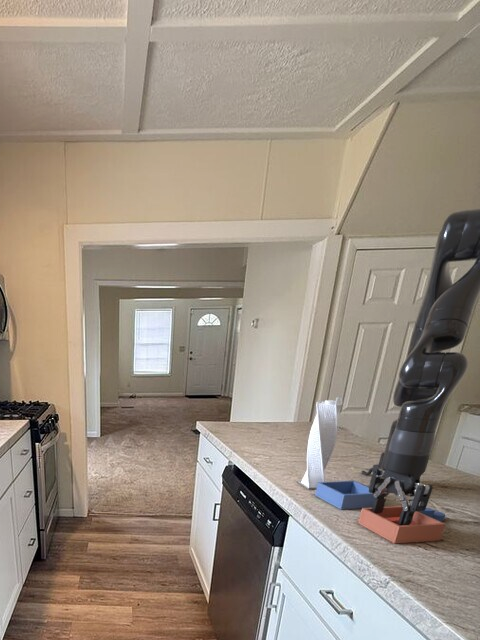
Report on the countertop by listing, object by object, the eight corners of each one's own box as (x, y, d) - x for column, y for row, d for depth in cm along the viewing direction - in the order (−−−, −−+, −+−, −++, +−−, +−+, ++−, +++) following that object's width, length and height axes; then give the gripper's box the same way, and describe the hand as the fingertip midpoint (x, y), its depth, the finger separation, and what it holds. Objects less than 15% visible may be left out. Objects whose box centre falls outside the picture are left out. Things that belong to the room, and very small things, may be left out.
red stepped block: (384, 533, 93) (388, 522, 92) (373, 527, 96) (376, 516, 95) (419, 531, 94) (423, 520, 93) (407, 525, 97) (410, 514, 96)
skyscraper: (333, 490, 123) (354, 396, 112) (307, 490, 123) (325, 396, 113) (319, 482, 131) (338, 393, 120) (294, 482, 131) (311, 393, 120)
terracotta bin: (358, 523, 100) (361, 508, 99) (399, 520, 101) (404, 505, 100) (394, 543, 90) (399, 526, 88) (440, 540, 91) (446, 523, 89)
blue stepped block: (414, 523, 100) (417, 512, 99) (402, 517, 103) (405, 507, 102) (447, 521, 101) (450, 510, 100) (434, 515, 104) (437, 505, 103)
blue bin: (315, 495, 119) (317, 482, 118) (350, 493, 121) (353, 480, 119) (340, 509, 109) (344, 495, 107) (379, 507, 110) (383, 493, 108)
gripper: (455, 457, 82) (430, 530, 88) (398, 442, 95) (380, 507, 101) (421, 459, 81) (399, 532, 87) (369, 443, 94) (353, 508, 100)
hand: (389, 518), depth 94 cm, fingers open, 7 cm apart
